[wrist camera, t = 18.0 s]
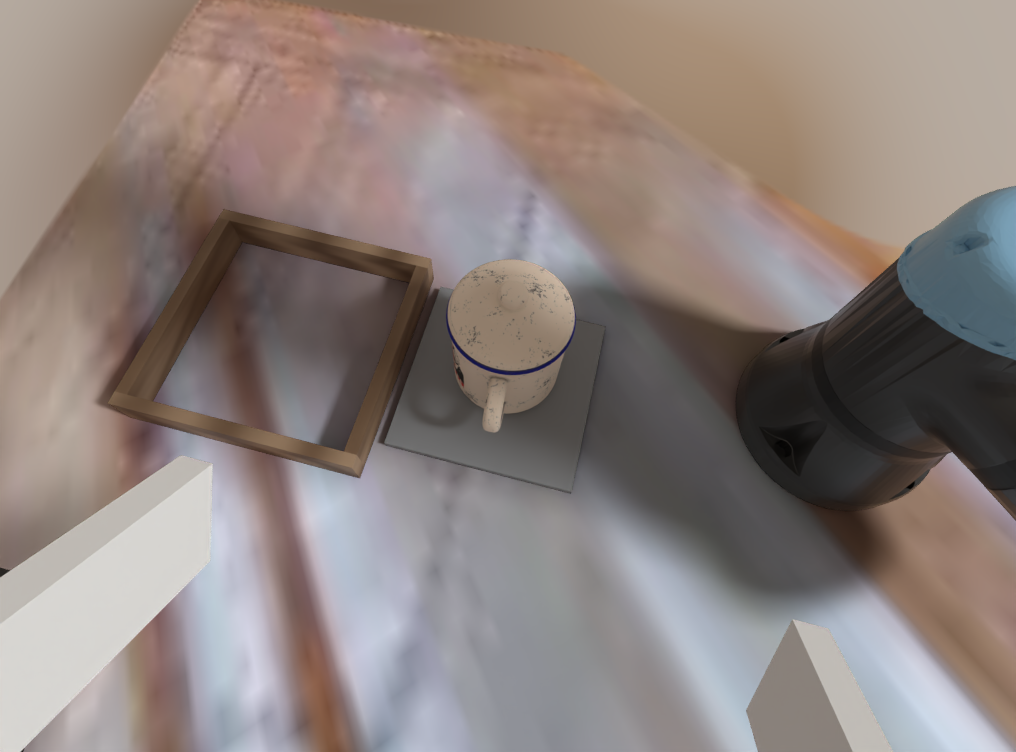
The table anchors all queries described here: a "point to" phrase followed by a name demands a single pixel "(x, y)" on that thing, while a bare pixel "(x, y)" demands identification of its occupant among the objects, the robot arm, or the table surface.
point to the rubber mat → (522, 436)
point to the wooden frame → (198, 290)
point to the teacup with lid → (508, 336)
